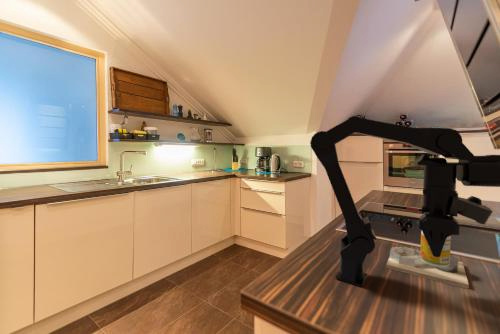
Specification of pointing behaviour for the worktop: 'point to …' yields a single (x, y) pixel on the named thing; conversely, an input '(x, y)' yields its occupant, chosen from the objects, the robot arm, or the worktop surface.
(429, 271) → the carrier plate
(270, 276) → the worktop surface
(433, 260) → the supplement bottle
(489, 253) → the worktop surface
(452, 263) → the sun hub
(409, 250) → the socket collar
